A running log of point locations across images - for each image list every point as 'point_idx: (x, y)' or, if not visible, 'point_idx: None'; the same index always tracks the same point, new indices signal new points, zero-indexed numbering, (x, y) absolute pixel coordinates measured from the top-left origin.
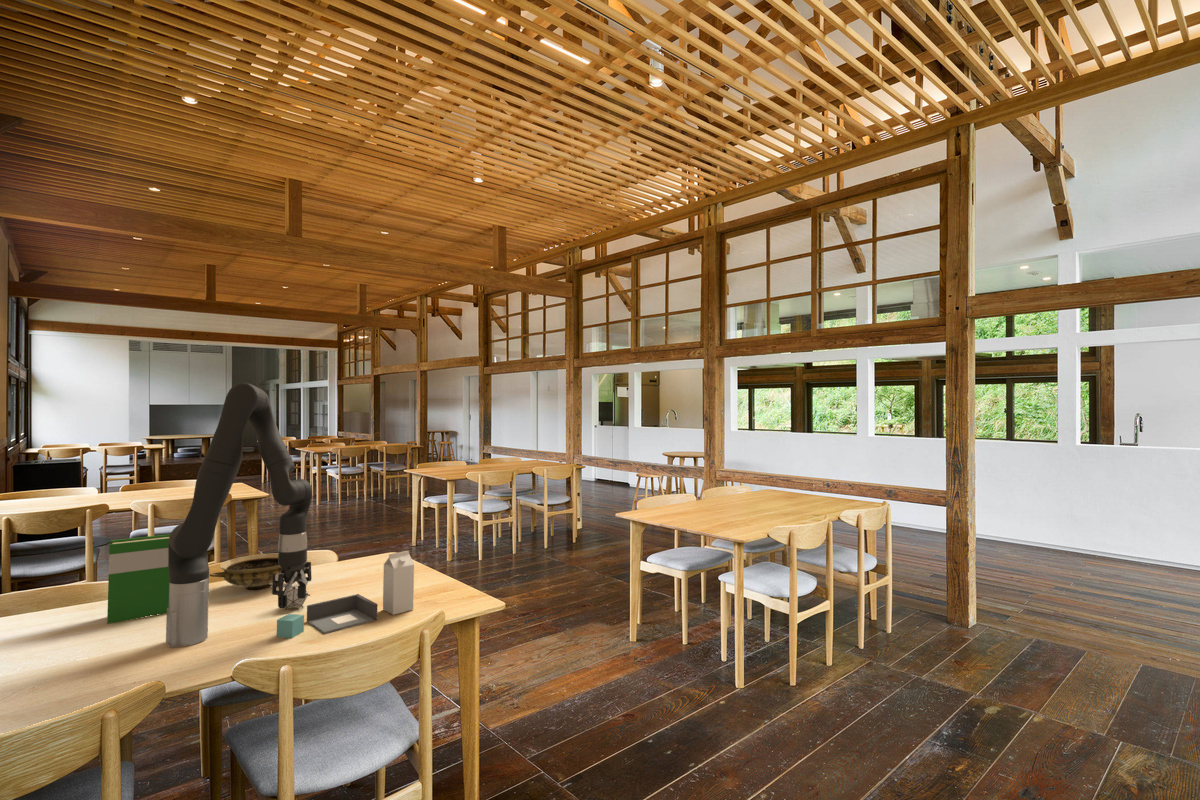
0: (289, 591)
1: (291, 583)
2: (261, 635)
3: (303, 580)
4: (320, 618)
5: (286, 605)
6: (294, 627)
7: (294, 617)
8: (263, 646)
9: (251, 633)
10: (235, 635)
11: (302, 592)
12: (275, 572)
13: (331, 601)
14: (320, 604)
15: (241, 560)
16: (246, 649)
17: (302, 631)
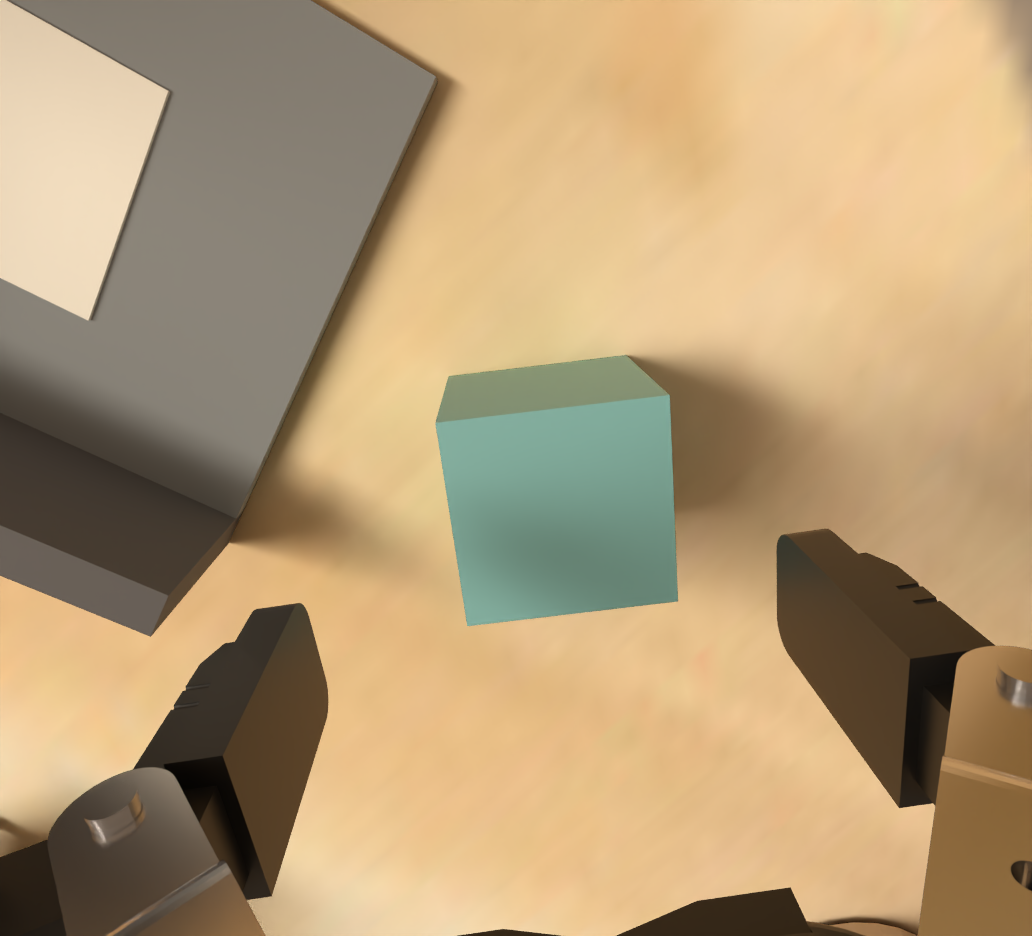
0: None
1: (1005, 861)
2: (638, 659)
3: (235, 889)
4: (126, 446)
5: (809, 541)
6: (610, 379)
7: (554, 468)
8: (855, 456)
9: (621, 758)
10: (685, 826)
11: (281, 695)
12: None
13: None
14: (16, 522)
15: None
16: (932, 540)
17: (466, 376)
